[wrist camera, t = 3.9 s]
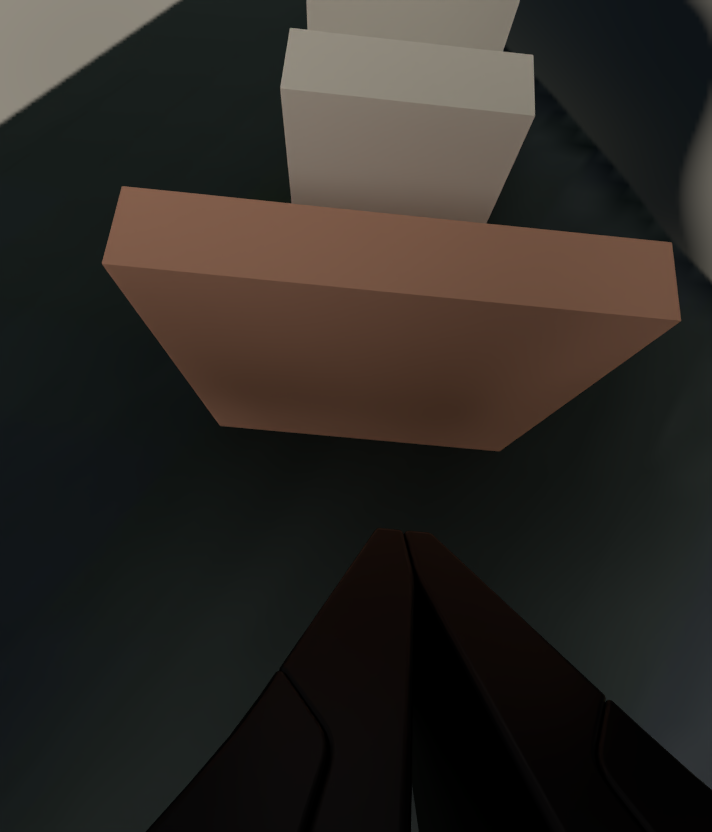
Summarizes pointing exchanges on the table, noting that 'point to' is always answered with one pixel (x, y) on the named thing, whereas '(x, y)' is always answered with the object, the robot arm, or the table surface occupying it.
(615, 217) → the table surface
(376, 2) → the domino
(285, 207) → the domino
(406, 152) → the domino
